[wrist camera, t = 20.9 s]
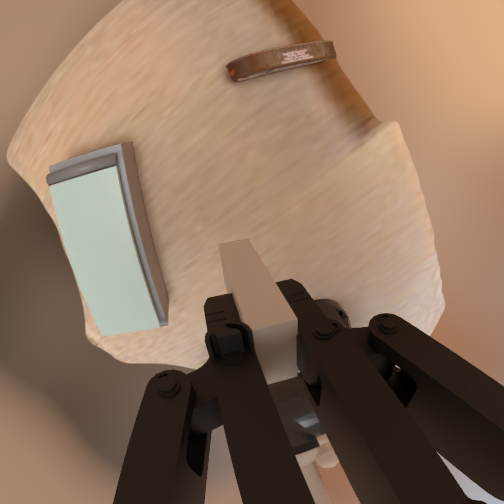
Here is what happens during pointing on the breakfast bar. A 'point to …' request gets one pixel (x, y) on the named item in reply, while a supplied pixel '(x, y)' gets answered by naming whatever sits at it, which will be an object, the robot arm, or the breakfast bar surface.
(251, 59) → the tin
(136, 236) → the grey u-shaped bracket
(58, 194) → the cover
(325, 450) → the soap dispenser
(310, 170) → the breakfast bar surface
